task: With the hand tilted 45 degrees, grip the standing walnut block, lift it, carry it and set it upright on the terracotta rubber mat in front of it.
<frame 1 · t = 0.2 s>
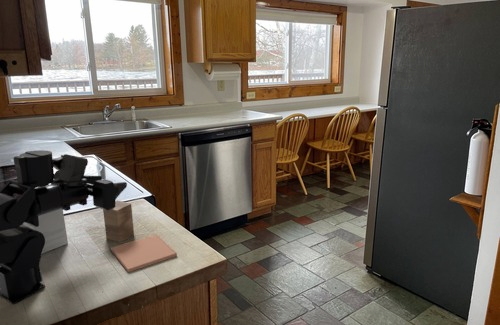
hand: (113, 181, 92), 17 cm above the counter, tool horizontal, fingers open, 9 cm apart
terracotta mat: (143, 253, 91), on the counter
supplement box: (47, 245, 94), on the counter
walnut block: (120, 236, 99), on the counter
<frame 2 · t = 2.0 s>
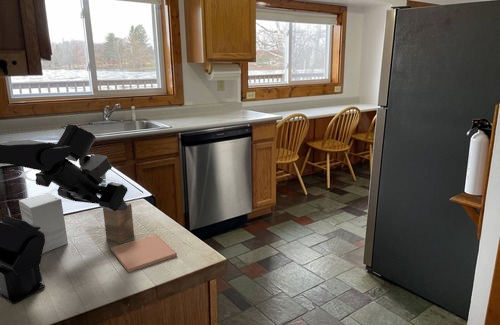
hand: (113, 205, 95), 9 cm above the counter, tool tilted 45°, fingers open, 9 cm apart
nothing on the counter moved.
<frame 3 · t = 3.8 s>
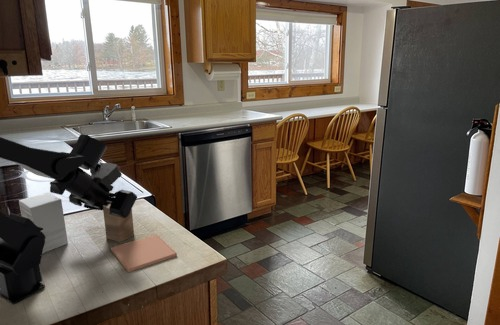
hand: (122, 211, 99), 7 cm above the counter, tool tilted 45°, fingers closed on walnut block, 5 cm apart
walnut block: (120, 236, 99), on the counter, touching gripper
everything else where it was.
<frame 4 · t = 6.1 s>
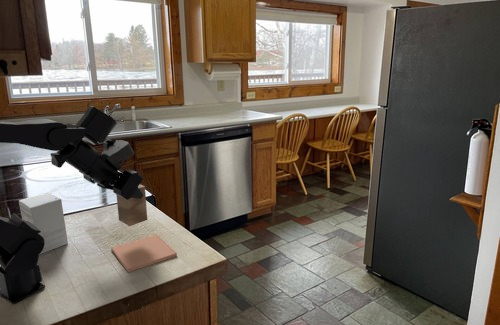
hand: (136, 194, 92), 13 cm above the counter, tool tilted 45°, fingers closed on walnut block, 5 cm apart
walnut block: (133, 220, 93), point 7 cm above the counter, touching gripper
everything else where it was.
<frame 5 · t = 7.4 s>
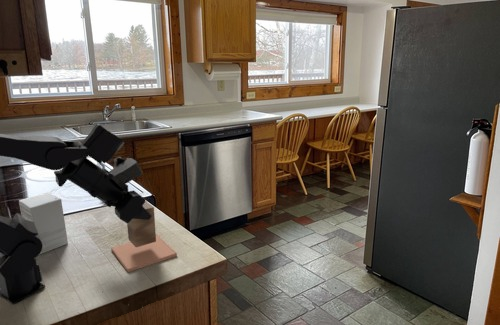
hand: (145, 214, 89), 10 cm above the counter, tool tilted 45°, fingers closed on walnut block, 5 cm apart
walnut block: (142, 240, 90), point 3 cm above the counter, touching gripper
everything else where it was.
when the fingers open (8 cm above the counter, at t = 8.6 s): walnut block drops 1 cm, resting on terracotta mat.
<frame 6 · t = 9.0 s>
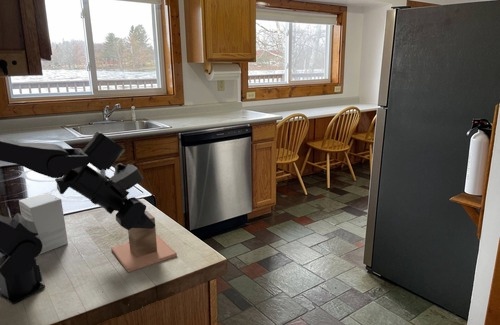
hand: (146, 219, 89), 9 cm above the counter, tool tilted 45°, fingers open, 9 cm apart
walnut block: (143, 250, 91), point 1 cm above the counter, touching terracotta mat
everything else where it was.
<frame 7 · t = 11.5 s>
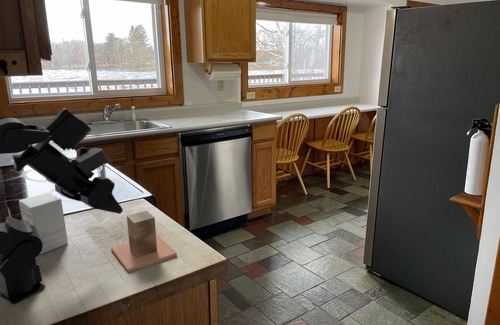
hand: (111, 208, 84), 13 cm above the counter, tool tilted 40°, fingers open, 9 cm apart
nothing on the counter moved.
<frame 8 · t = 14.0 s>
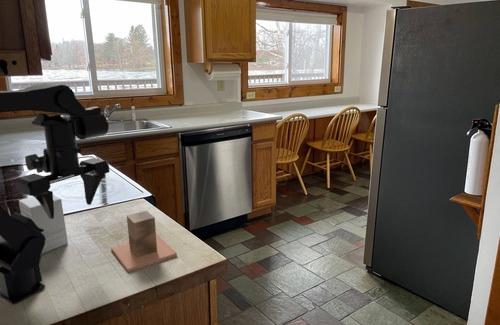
hand: (71, 211, 83), 13 cm above the counter, tool pointing down, fingers open, 9 cm apart
nothing on the counter moved.
at the end: walnut block inside the target area on the terracotta mat (0.0 cm from its centre), point 0.8 cm above the terracotta mat's base; walnut block tilted 0°; the gripper is holding nothing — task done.
